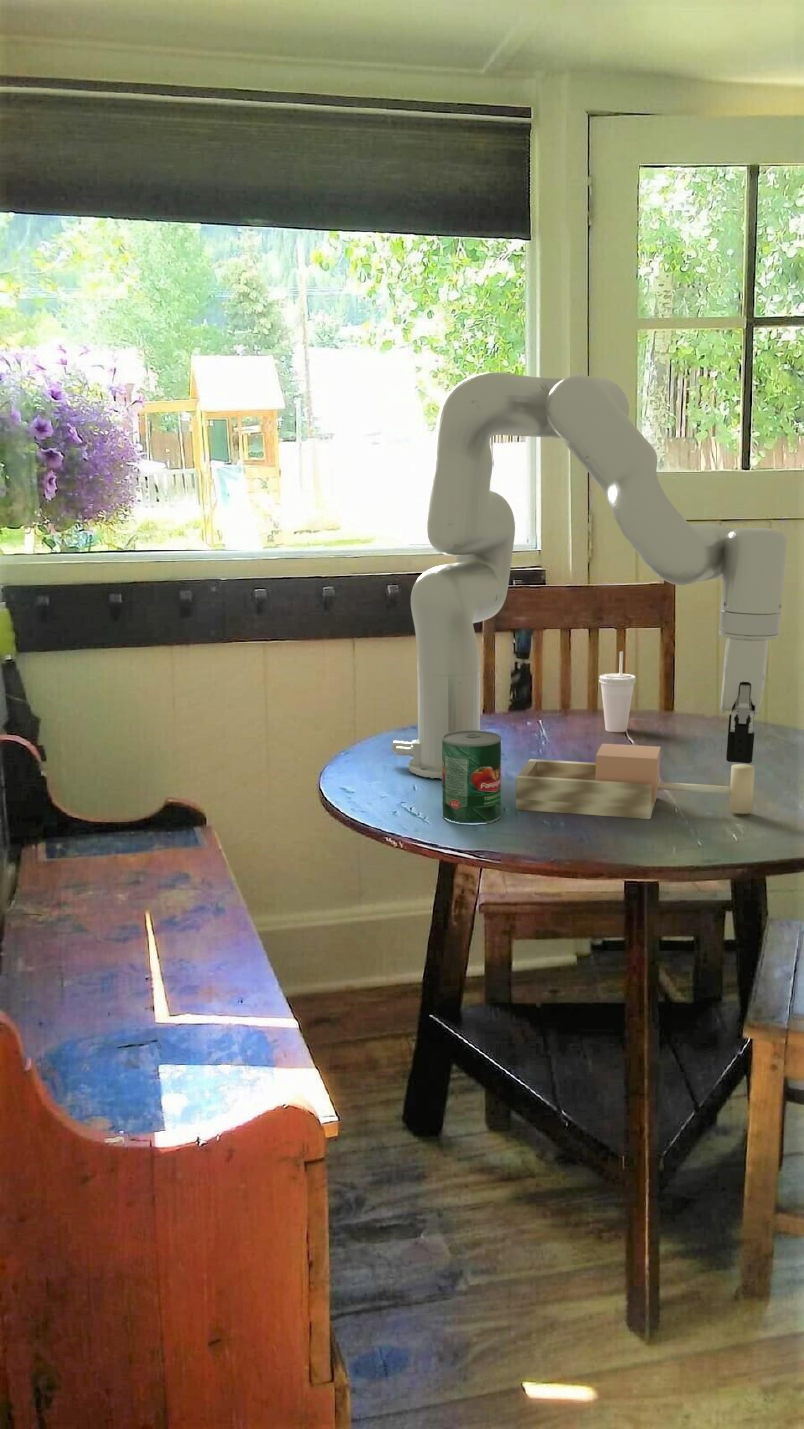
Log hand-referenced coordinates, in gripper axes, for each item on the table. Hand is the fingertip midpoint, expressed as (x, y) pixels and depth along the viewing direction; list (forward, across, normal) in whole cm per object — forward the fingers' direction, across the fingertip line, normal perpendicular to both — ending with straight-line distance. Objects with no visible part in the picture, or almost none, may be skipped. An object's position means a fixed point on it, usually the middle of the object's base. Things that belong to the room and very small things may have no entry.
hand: (739, 752), depth 152 cm
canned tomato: (+9, +10, -34) cm, 37 cm away
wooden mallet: (+8, 0, -8) cm, 11 cm away
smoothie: (+10, -47, -21) cm, 52 cm away
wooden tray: (+9, 0, -21) cm, 22 cm away
